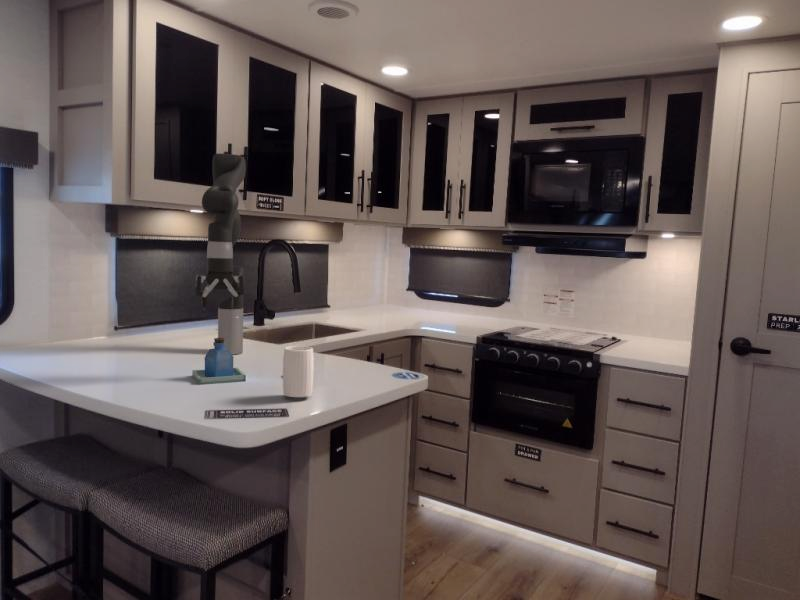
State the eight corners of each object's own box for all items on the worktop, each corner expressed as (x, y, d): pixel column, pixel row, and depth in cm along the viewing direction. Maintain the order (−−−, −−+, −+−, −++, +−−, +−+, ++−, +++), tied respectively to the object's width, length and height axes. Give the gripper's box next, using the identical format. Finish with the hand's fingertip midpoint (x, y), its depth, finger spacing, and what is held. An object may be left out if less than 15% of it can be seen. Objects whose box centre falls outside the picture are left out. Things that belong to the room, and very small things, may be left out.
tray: (192, 375, 189) (192, 370, 189) (237, 373, 196) (237, 367, 196) (198, 384, 179) (198, 378, 178) (245, 381, 185) (245, 375, 185)
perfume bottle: (222, 373, 192) (222, 336, 190) (233, 376, 188) (233, 339, 186) (204, 376, 187) (205, 338, 186) (215, 379, 183) (216, 341, 182)
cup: (291, 392, 173) (292, 344, 172) (317, 396, 171) (318, 347, 170) (276, 399, 165) (277, 349, 164) (304, 403, 163) (305, 352, 162)
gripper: (240, 256, 190) (240, 307, 192) (193, 255, 184) (193, 307, 185) (246, 257, 184) (245, 310, 185) (197, 256, 177) (197, 310, 179)
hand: (219, 308), depth 185 cm, fingers open, 8 cm apart
